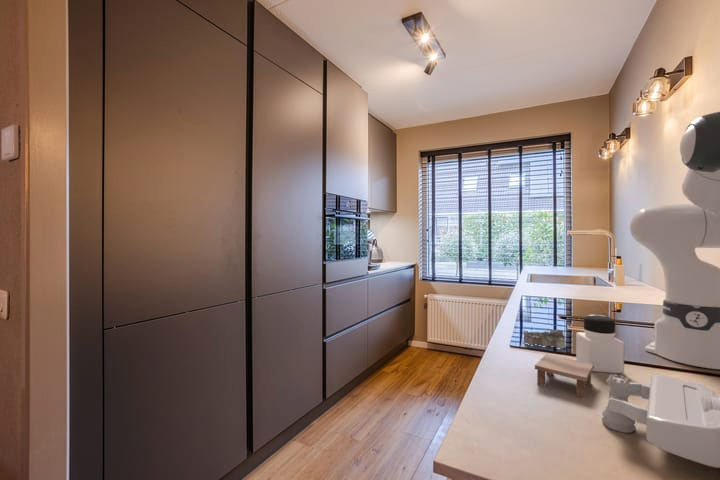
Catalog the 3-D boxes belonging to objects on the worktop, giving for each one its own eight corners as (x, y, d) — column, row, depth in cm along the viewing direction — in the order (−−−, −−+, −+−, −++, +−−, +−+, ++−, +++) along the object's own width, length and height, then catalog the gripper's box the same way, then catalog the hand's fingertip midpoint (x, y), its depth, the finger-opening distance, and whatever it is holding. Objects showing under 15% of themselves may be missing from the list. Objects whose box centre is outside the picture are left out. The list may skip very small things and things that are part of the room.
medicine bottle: (624, 374, 75) (625, 320, 75) (589, 371, 76) (589, 319, 76) (607, 362, 82) (608, 313, 82) (575, 360, 83) (576, 312, 83)
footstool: (546, 371, 76) (546, 354, 76) (593, 383, 70) (593, 364, 70) (534, 384, 70) (534, 365, 70) (586, 398, 64) (586, 377, 64)
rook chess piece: (643, 431, 53) (643, 381, 53) (622, 436, 52) (622, 385, 51) (614, 416, 57) (614, 370, 57) (594, 421, 56) (595, 373, 56)
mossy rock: (564, 344, 96) (564, 330, 96) (566, 352, 90) (566, 337, 90) (523, 338, 102) (523, 325, 101) (522, 345, 95) (522, 331, 95)
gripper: (728, 379, 53) (618, 357, 63) (752, 436, 38) (603, 396, 47) (727, 418, 53) (618, 391, 63) (751, 490, 38) (603, 440, 48)
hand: (611, 393), depth 55 cm, fingers open, 6 cm apart
